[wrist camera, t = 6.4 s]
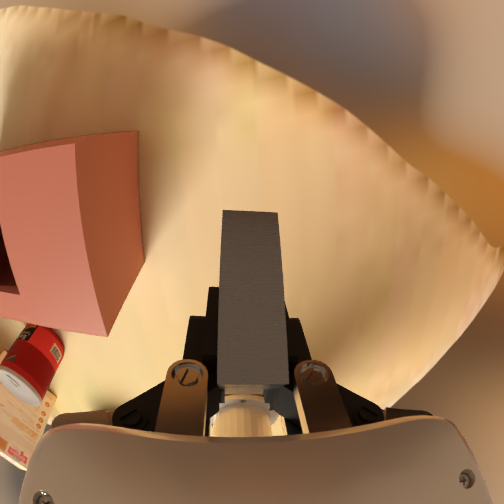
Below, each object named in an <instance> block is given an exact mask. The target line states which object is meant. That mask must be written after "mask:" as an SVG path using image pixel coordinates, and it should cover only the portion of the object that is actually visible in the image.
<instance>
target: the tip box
mask: <svg viewBox="0 0 504 504" xmlns="http://www.w3.org/2000/svg"><path fill="white" fill-rule="evenodd" d="M144 263H145V262H144V253H143V243H142V231H141V218H140V202H139V179H138V131H128V132H115V133H104V134H95V135H86V136H79V137H71V138H65V139H58V140H52V141H46V142H41V143H36V144H31V145H26V146H21V147H17V148H12V149H8V150H4V151H0V316H1V317H5V318H9V319H13V320H17V321H21V322H26V323H30V324H35V325H39V326H44V327H49V328H54V329H60V330H65V331H71V332H77V333H83V334H89V335H96V336H103V337H108V335H109V333H110V331H111V329H112V327H113V324H114V322H115V320H116V318H117V316H118V314H119V312H120V310H121V308H122V306H123V303H124V301H125V299H126V297H127V295H128V293H129V291H130V289H131V288H132V286H133V284H134V282H135V280H136V278H137V276H138V274H139V272H140V270H141V268H142V266H143V265H144Z"/></svg>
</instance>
